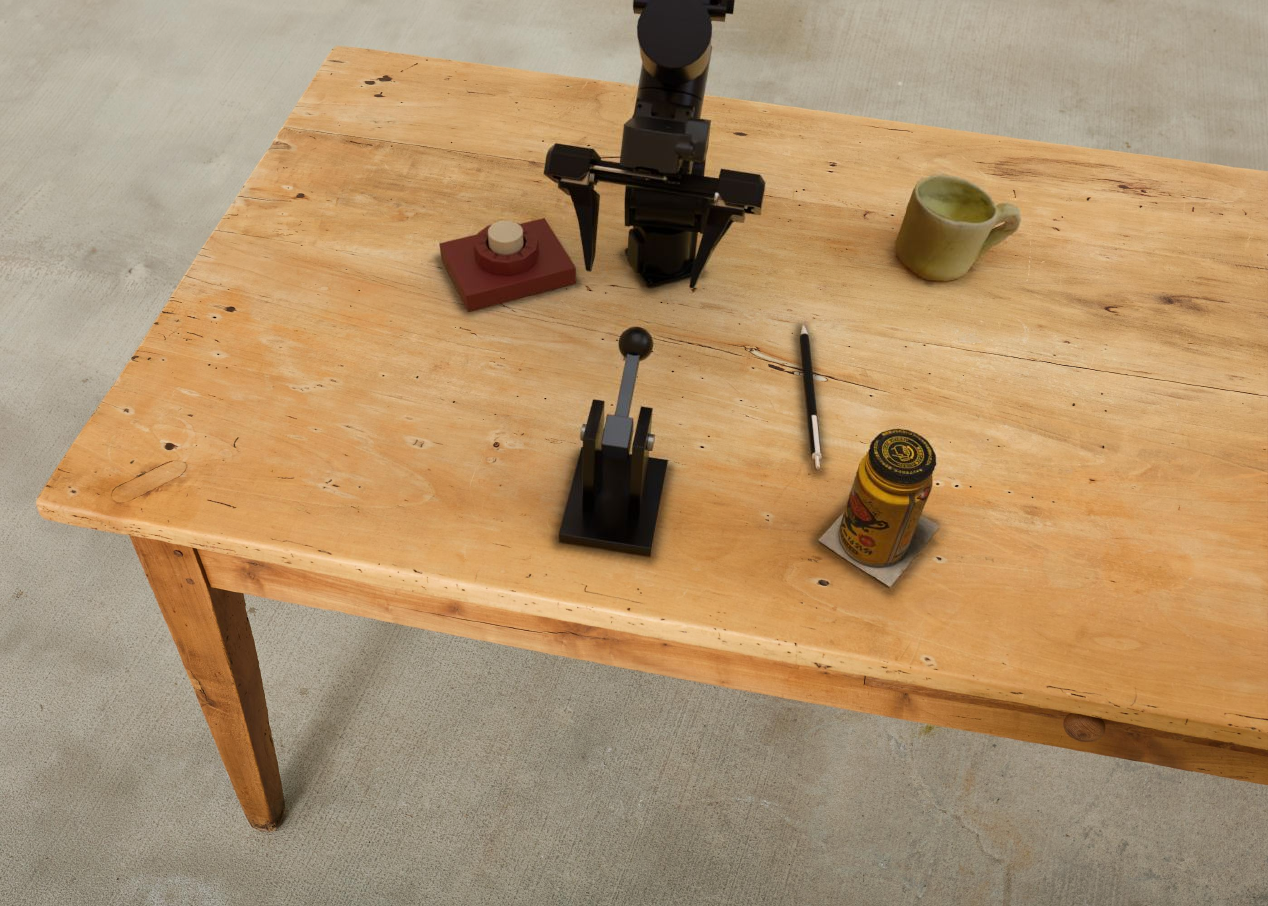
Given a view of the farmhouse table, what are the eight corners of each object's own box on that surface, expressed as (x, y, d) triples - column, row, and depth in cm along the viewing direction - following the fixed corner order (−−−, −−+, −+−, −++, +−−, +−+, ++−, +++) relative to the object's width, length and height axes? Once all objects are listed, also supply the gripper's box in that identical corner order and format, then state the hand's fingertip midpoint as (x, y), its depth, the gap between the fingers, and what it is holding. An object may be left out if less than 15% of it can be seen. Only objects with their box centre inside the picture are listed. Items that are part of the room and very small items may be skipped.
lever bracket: (581, 454, 97) (581, 372, 89) (667, 467, 96) (675, 385, 88) (558, 542, 90) (556, 462, 82) (650, 557, 90) (658, 477, 82)
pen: (812, 470, 97) (814, 462, 96) (798, 327, 109) (800, 319, 108) (821, 471, 97) (824, 463, 96) (806, 328, 109) (808, 320, 108)
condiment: (817, 541, 92) (843, 452, 82) (869, 484, 96) (899, 394, 87) (889, 589, 89) (925, 502, 80) (939, 528, 93) (978, 439, 84)
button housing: (545, 233, 117) (544, 204, 114) (575, 283, 112) (575, 253, 109) (441, 259, 114) (437, 229, 111) (467, 312, 109) (464, 282, 105)
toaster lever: (621, 336, 92) (621, 317, 90) (655, 341, 92) (656, 322, 89) (597, 457, 87) (595, 441, 85) (632, 463, 87) (632, 447, 84)
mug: (884, 273, 112) (925, 186, 107) (879, 240, 121) (916, 158, 115) (992, 310, 113) (1038, 225, 107) (979, 275, 121) (1021, 194, 116)
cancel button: (516, 230, 112) (515, 216, 110) (528, 250, 110) (527, 237, 108) (484, 238, 111) (482, 224, 109) (495, 258, 109) (494, 245, 107)
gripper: (545, 57, 83) (515, 255, 85) (780, 91, 81) (744, 293, 83) (570, 90, 94) (543, 265, 96) (777, 121, 92) (745, 298, 94)
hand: (639, 279), depth 92 cm, fingers open, 9 cm apart
